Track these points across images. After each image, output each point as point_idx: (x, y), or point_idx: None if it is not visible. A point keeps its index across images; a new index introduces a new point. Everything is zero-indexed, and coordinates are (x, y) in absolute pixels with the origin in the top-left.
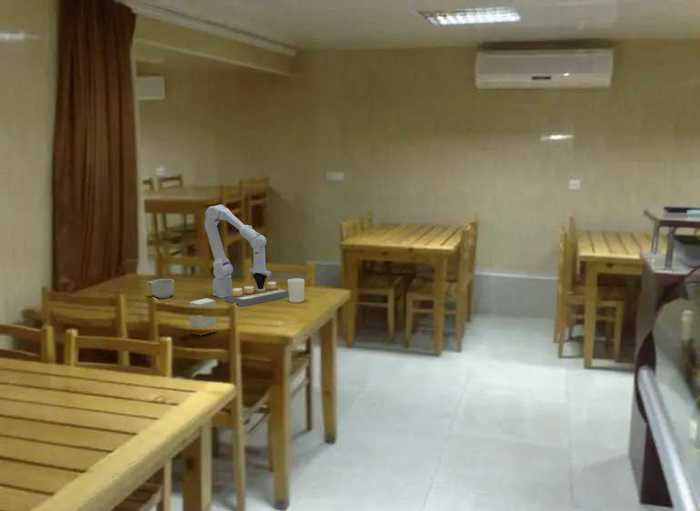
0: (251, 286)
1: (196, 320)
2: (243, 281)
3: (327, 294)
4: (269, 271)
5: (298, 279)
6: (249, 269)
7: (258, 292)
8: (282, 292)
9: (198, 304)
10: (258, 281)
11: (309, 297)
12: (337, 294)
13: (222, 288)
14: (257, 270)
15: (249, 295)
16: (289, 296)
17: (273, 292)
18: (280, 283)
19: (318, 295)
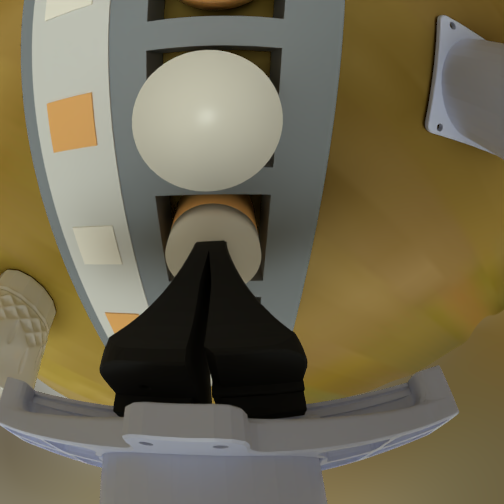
0: (196, 162)
1: None
2: (493, 314)
3: (93, 391)
4: (41, 446)
5: None
6: (448, 403)
7: (190, 206)
8: (90, 317)
9: None
10: (176, 296)
11: (71, 352)
12: (82, 397)
13: (502, 48)
14: (125, 466)
15: (128, 64)
16: (12, 292)
17: (101, 282)
18: (367, 383)
19: (90, 377)
